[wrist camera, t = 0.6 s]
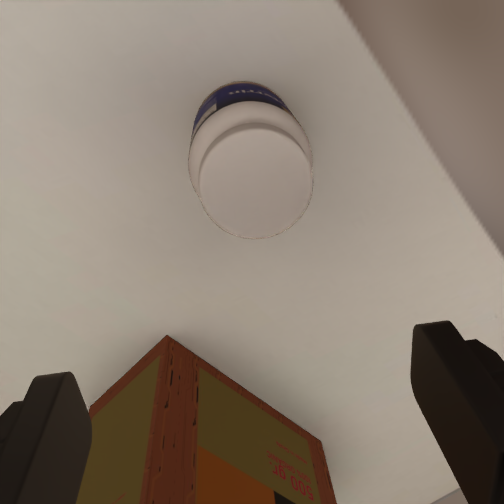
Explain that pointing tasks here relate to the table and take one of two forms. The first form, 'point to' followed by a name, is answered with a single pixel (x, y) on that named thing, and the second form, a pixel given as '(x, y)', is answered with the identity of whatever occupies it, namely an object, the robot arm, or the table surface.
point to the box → (196, 441)
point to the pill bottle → (250, 161)
